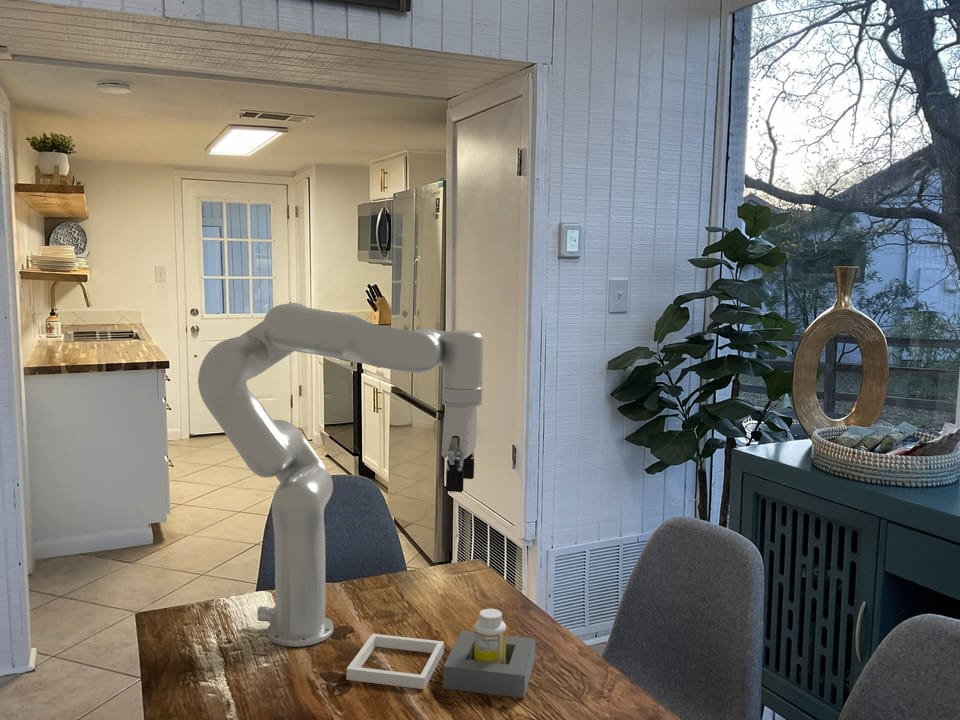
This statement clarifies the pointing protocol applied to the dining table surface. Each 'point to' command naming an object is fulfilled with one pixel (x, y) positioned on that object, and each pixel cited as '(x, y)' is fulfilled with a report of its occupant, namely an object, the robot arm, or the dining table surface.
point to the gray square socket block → (490, 668)
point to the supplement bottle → (490, 637)
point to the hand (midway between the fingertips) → (460, 484)
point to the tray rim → (392, 677)
